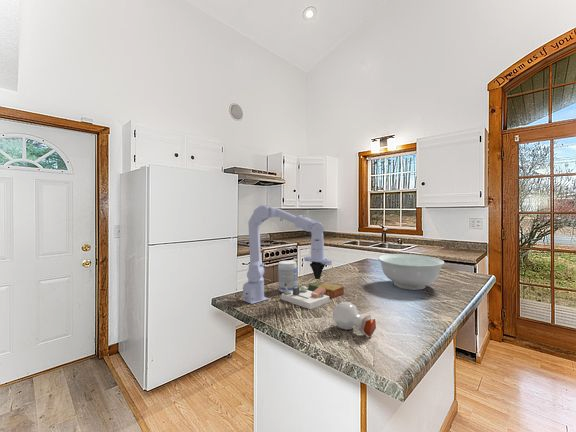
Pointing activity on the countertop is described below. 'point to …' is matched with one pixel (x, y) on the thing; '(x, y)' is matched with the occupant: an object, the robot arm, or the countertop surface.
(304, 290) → the button
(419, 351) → the countertop surface
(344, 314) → the potion bottle
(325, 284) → the carton
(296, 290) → the slider
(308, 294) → the console
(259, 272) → the robot arm
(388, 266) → the bowl
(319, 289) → the rocker
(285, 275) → the supplement tub
